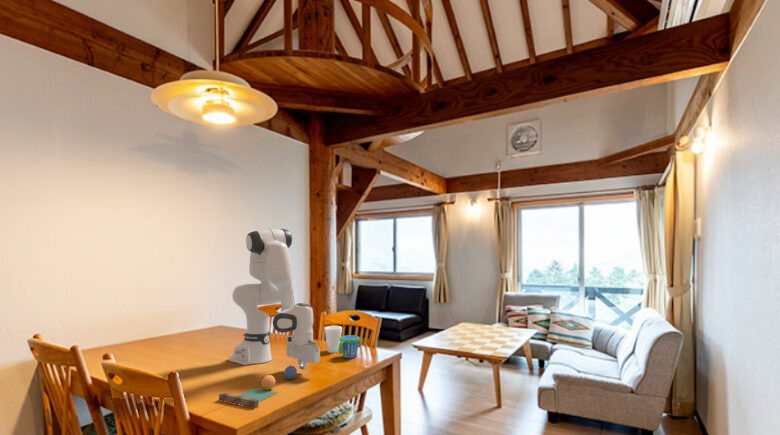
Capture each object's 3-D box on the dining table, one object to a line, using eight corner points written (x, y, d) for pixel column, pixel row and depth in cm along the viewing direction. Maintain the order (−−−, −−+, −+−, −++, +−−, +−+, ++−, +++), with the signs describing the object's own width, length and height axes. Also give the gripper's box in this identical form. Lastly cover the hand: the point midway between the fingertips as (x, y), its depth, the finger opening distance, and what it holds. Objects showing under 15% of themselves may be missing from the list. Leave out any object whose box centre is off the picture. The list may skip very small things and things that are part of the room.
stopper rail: (218, 400, 148) (219, 393, 148) (222, 399, 149) (222, 392, 150) (255, 408, 141) (255, 401, 141) (258, 407, 142) (258, 400, 142)
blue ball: (281, 380, 171) (281, 366, 171) (289, 376, 176) (289, 363, 176) (291, 381, 168) (291, 368, 169) (299, 377, 174) (299, 365, 174)
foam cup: (322, 353, 214) (322, 329, 215) (327, 348, 223) (328, 325, 224) (339, 353, 213) (339, 329, 214) (343, 349, 222) (344, 326, 223)
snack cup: (345, 362, 198) (345, 341, 198) (331, 358, 204) (331, 338, 205) (366, 355, 209) (367, 336, 210) (353, 352, 216) (353, 333, 217)
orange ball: (258, 390, 158) (258, 376, 159) (267, 386, 163) (268, 372, 164) (268, 392, 156) (269, 378, 156) (278, 388, 161) (278, 374, 161)
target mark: (231, 398, 150) (231, 398, 150) (254, 388, 161) (254, 387, 161) (255, 403, 145) (255, 403, 145) (277, 393, 156) (277, 392, 156)
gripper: (323, 340, 177) (323, 372, 176) (295, 334, 190) (294, 363, 189) (313, 343, 172) (312, 375, 171) (284, 337, 185) (283, 367, 184)
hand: (302, 369), depth 180 cm, fingers closed
